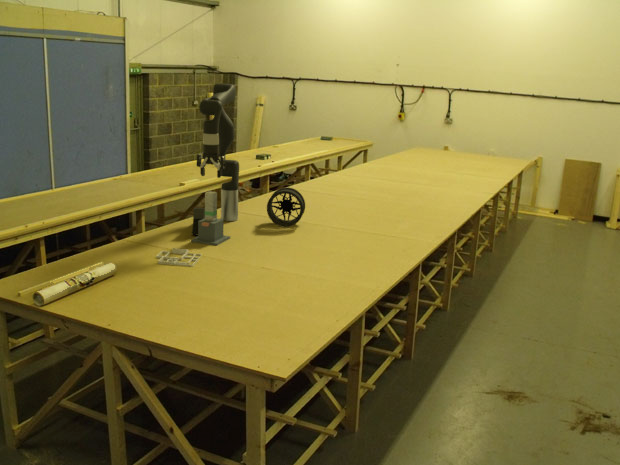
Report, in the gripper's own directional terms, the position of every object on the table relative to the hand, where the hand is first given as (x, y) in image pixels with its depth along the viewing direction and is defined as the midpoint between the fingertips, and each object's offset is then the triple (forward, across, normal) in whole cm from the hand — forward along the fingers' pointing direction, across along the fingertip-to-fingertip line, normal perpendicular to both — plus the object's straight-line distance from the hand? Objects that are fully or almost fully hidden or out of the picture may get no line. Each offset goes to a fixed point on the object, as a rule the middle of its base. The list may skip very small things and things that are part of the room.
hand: (210, 176), depth 294 cm
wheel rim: (+32, -22, -45) cm, 59 cm away
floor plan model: (+32, +2, +32) cm, 46 cm away
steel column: (+24, 0, 0) cm, 24 cm away
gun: (+32, +14, -17) cm, 39 cm away
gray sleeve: (+32, 0, 0) cm, 32 cm away
